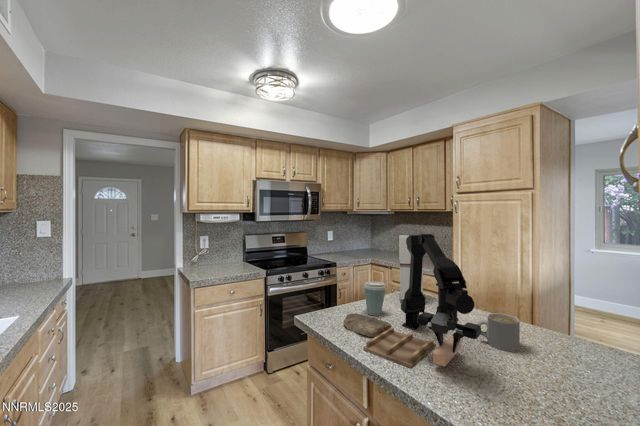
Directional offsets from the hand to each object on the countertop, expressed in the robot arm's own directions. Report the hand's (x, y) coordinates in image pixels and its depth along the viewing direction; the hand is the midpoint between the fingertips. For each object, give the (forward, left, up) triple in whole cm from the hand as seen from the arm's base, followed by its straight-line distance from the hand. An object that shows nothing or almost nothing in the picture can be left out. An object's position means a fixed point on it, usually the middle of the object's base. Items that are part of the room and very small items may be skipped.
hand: (447, 350), depth 98 cm
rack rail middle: (+2, -16, -4) cm, 17 cm away
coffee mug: (-25, +9, -4) cm, 27 cm away
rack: (+2, -16, -4) cm, 17 cm away
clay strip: (0, 0, -2) cm, 2 cm away
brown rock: (-4, -36, -4) cm, 37 cm away
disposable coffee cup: (-22, -42, -4) cm, 48 cm away
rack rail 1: (+2, -24, -4) cm, 24 cm away
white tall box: (-51, -38, -4) cm, 64 cm away
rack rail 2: (+2, -8, -4) cm, 9 cm away
